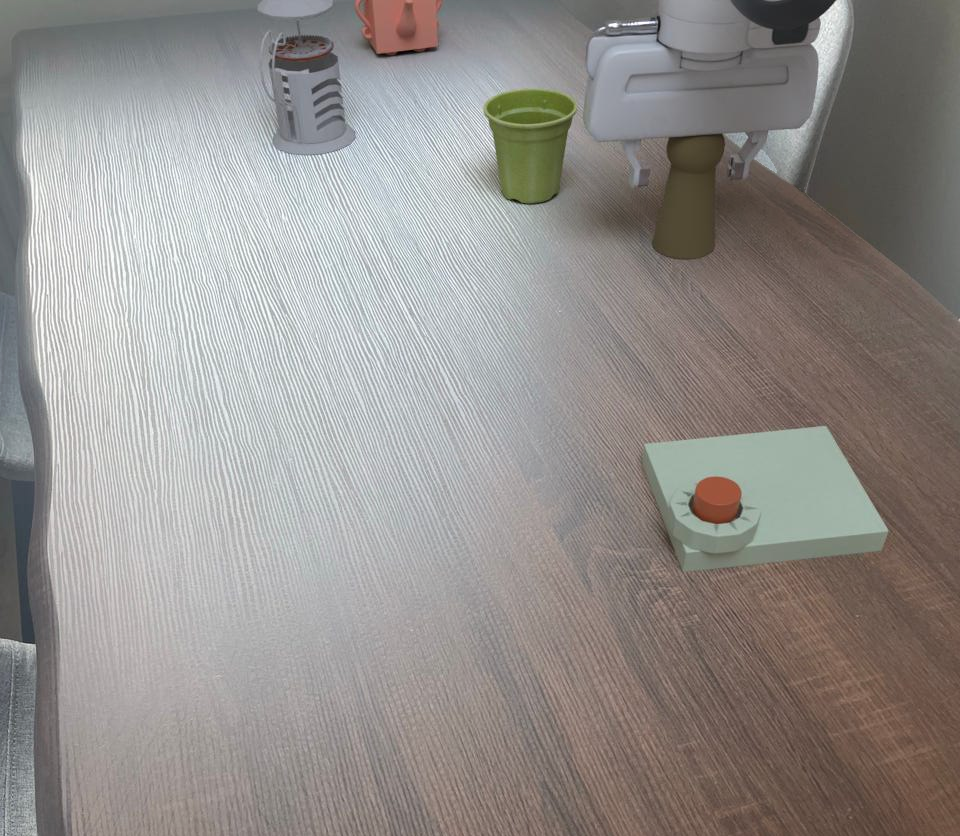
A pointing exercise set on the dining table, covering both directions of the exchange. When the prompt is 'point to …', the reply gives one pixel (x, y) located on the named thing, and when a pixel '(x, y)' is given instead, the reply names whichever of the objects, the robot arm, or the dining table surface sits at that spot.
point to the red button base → (764, 499)
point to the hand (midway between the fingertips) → (687, 181)
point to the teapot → (400, 24)
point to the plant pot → (530, 140)
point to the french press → (305, 83)
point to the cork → (689, 197)
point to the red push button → (716, 500)
